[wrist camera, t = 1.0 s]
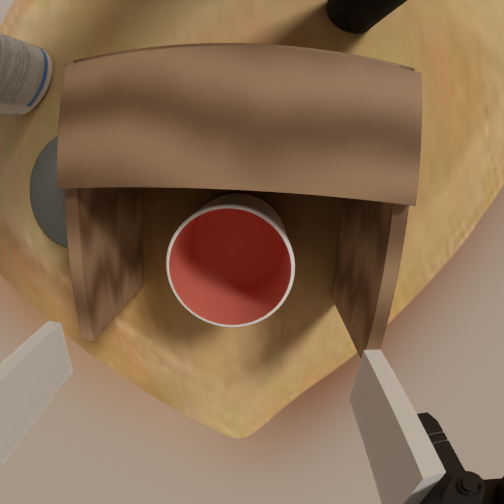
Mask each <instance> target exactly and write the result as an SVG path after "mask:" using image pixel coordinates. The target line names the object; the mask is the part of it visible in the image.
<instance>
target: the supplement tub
mask: <svg viewBox="0 0 504 504" xmlns="http://www.w3.org/2000/svg"><path fill="white" fill-rule="evenodd" d="M51 77H52V61H51V58H50V55H49V54H48V53H47V52H46V51H45V50H44V49H42V48H39V47H37V46H34V45H32V44H29V43H26V42H23V41H21V40H18V39H15V38H12V37H9V36H6V35H3V34H0V114H3V115H23V114H26V113H28V112H29V111H31V110H32V109H33V108H34V107H35V106H36V105H37V104H38V103H39V102H40V101H41V99H42V98H43V96H44V95H45V93H46V91H47V89H48V87H49V84H50V81H51Z"/></svg>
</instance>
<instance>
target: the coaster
mask: <svg viewBox="0 0 504 504" xmlns="http://www.w3.org/2000/svg"><path fill="white" fill-rule="evenodd" d="M57 148H58V137H56V138H54V139H53V140H52V141H50V142H49V143H48V144H47V145H46V146H45V147H44V149H43V150H42V151H41V153H40V155H39V156H38V158H37V160H36V162H35V165H34V168H33V171H32V175H31V181H30V199H31V205H32V209H33V212H34V215H35V218H36V220H37V222H38V224H39V225H40V227H41V228H42V230H43V231H44V232H45V234H46V235H47V236H48V237H49V238H51V239H52V240H53V241H55V242H56V243H58V244H60V245H62V246H64V247H68V240H67V227H66V210H65V188H63V189H57Z"/></svg>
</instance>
